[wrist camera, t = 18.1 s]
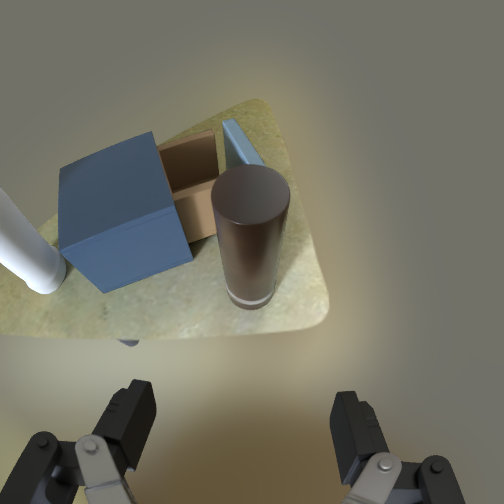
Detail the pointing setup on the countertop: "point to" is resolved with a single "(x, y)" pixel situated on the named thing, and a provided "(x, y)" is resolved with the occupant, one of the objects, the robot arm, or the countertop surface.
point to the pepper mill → (250, 230)
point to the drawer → (201, 174)
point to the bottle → (28, 250)
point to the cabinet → (119, 215)
